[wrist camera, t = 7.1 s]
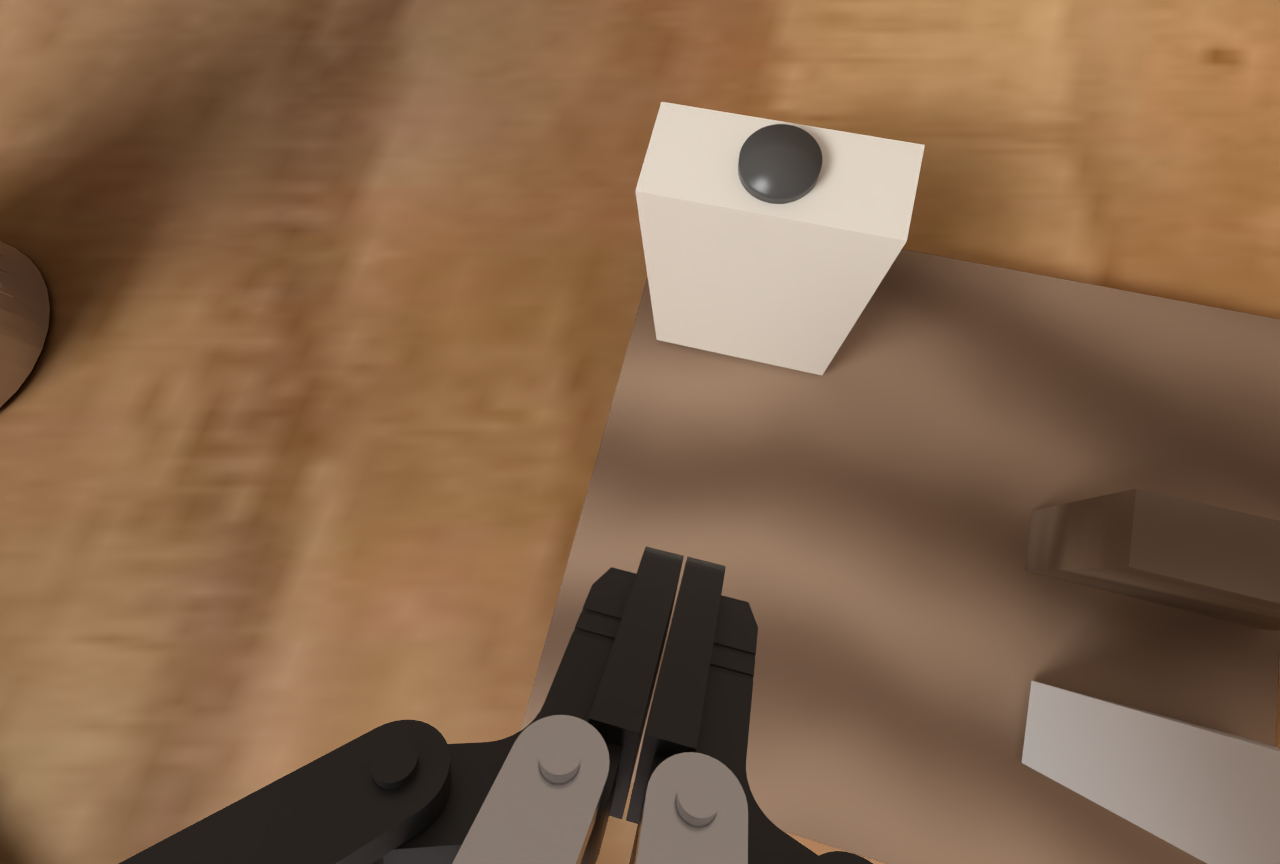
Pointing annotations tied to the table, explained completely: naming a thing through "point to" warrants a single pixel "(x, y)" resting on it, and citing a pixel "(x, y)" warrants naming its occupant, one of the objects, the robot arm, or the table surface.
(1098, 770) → the tile two
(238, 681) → the table surface
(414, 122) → the table surface
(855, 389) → the brown piece
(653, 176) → the tile one
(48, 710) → the table surface
